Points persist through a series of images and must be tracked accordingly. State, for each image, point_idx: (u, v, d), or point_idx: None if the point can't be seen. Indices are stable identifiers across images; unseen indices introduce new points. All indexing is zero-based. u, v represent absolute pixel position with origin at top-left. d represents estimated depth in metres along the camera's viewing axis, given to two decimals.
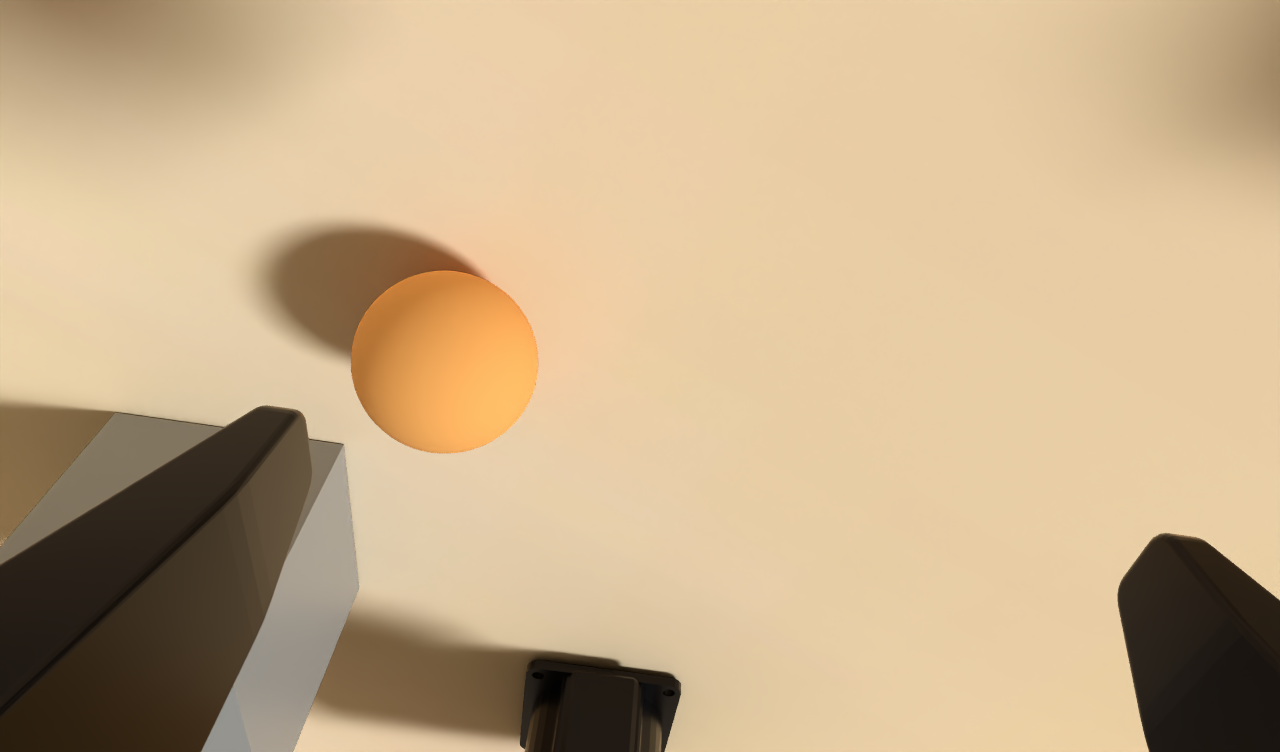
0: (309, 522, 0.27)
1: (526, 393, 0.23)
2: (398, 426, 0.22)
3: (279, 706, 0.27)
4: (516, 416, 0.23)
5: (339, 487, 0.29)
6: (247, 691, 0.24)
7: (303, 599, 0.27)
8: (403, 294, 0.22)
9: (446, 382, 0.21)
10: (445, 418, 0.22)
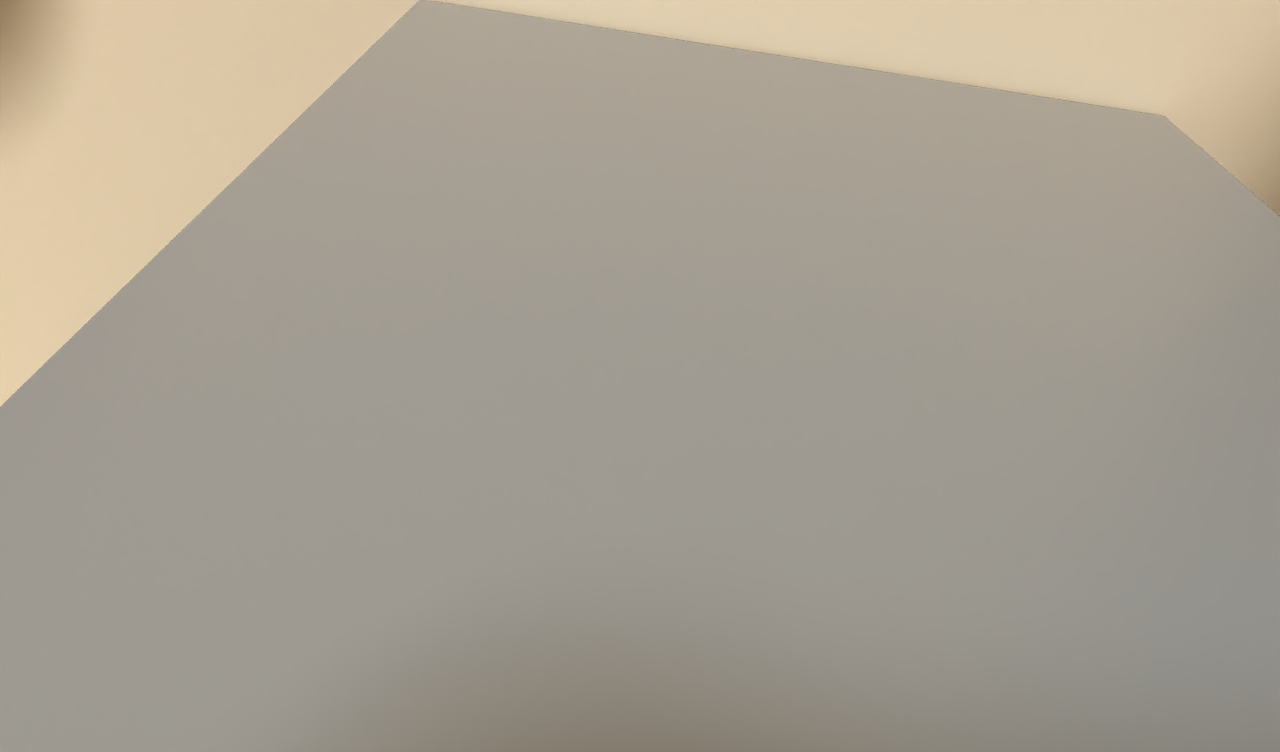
0: (348, 126, 0.06)
1: None
2: None
3: (1154, 666, 0.03)
4: None
5: (539, 42, 0.08)
6: None
7: (658, 256, 0.05)
8: None
9: None
10: None
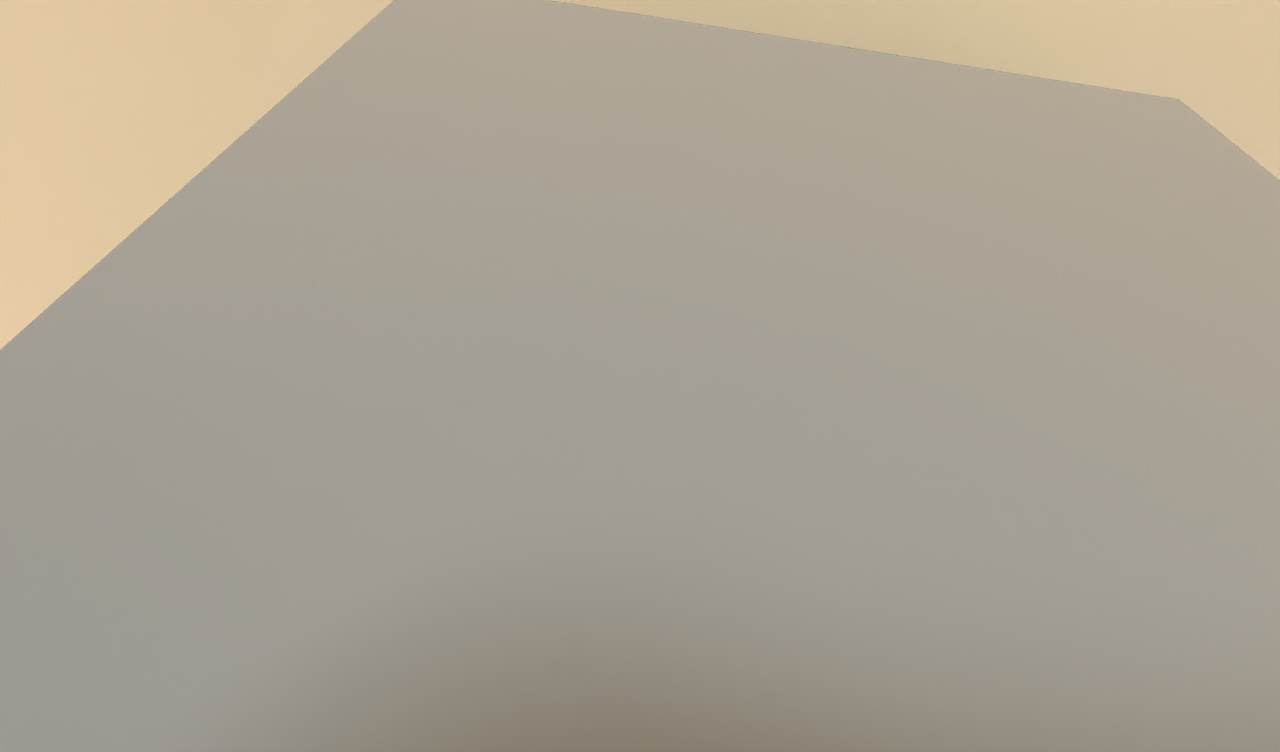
0: (341, 102, 0.06)
1: None
2: None
3: (1197, 656, 0.03)
4: None
5: (539, 21, 0.08)
6: None
7: (662, 232, 0.05)
8: None
9: None
10: None
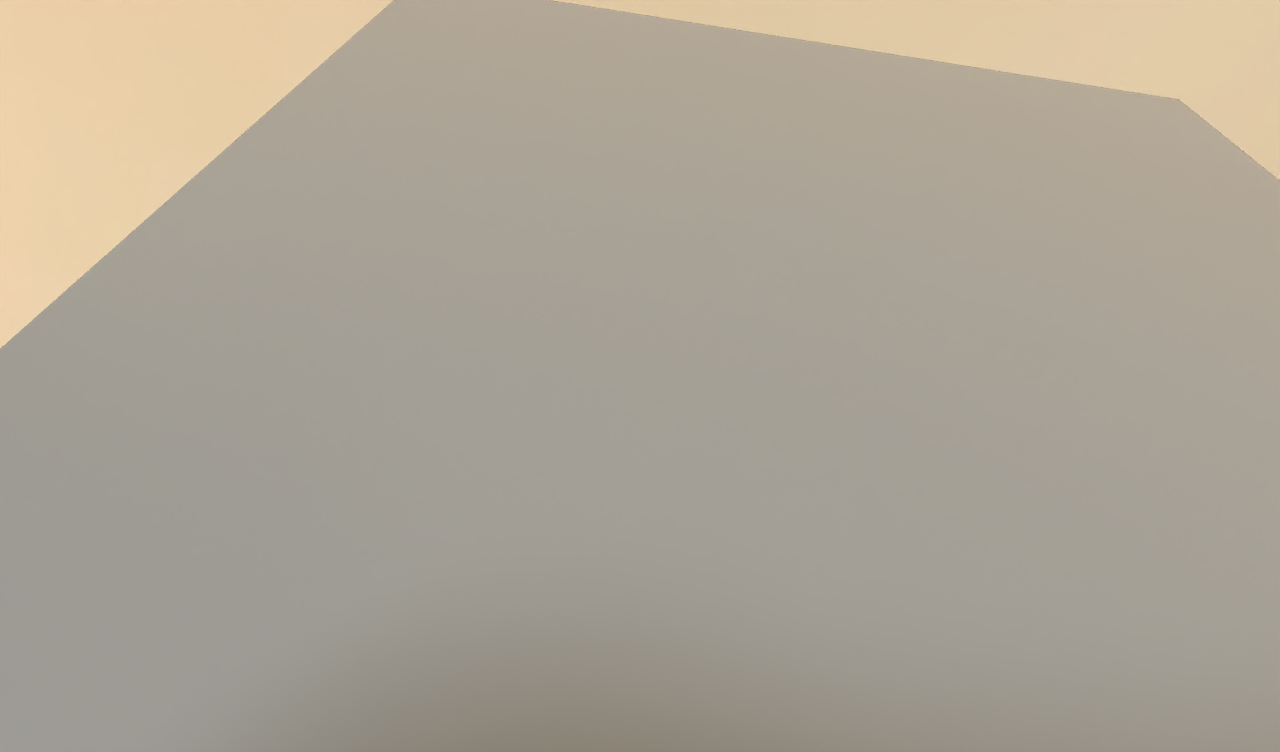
0: (341, 101, 0.06)
1: None
2: None
3: (1197, 655, 0.03)
4: None
5: (539, 20, 0.08)
6: None
7: (662, 232, 0.05)
8: None
9: None
10: None
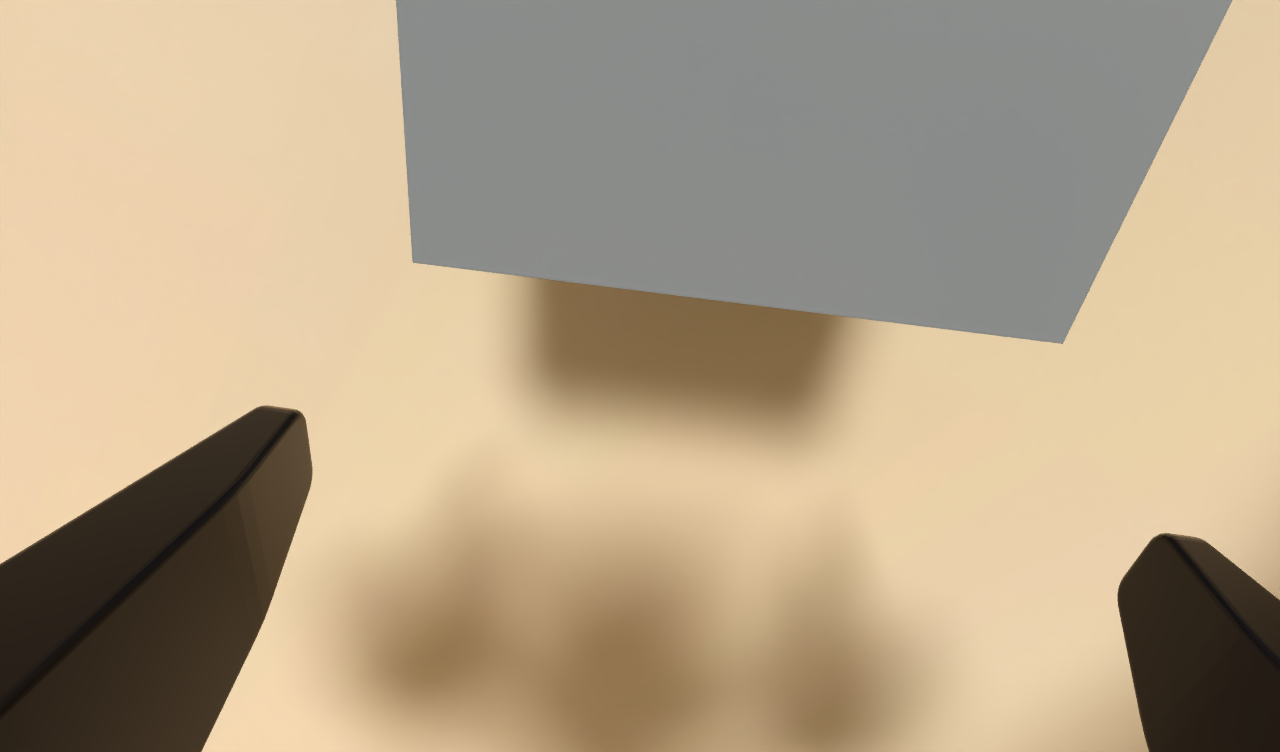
0: None
1: None
2: None
3: None
4: None
5: None
6: None
7: None
8: None
9: None
10: None
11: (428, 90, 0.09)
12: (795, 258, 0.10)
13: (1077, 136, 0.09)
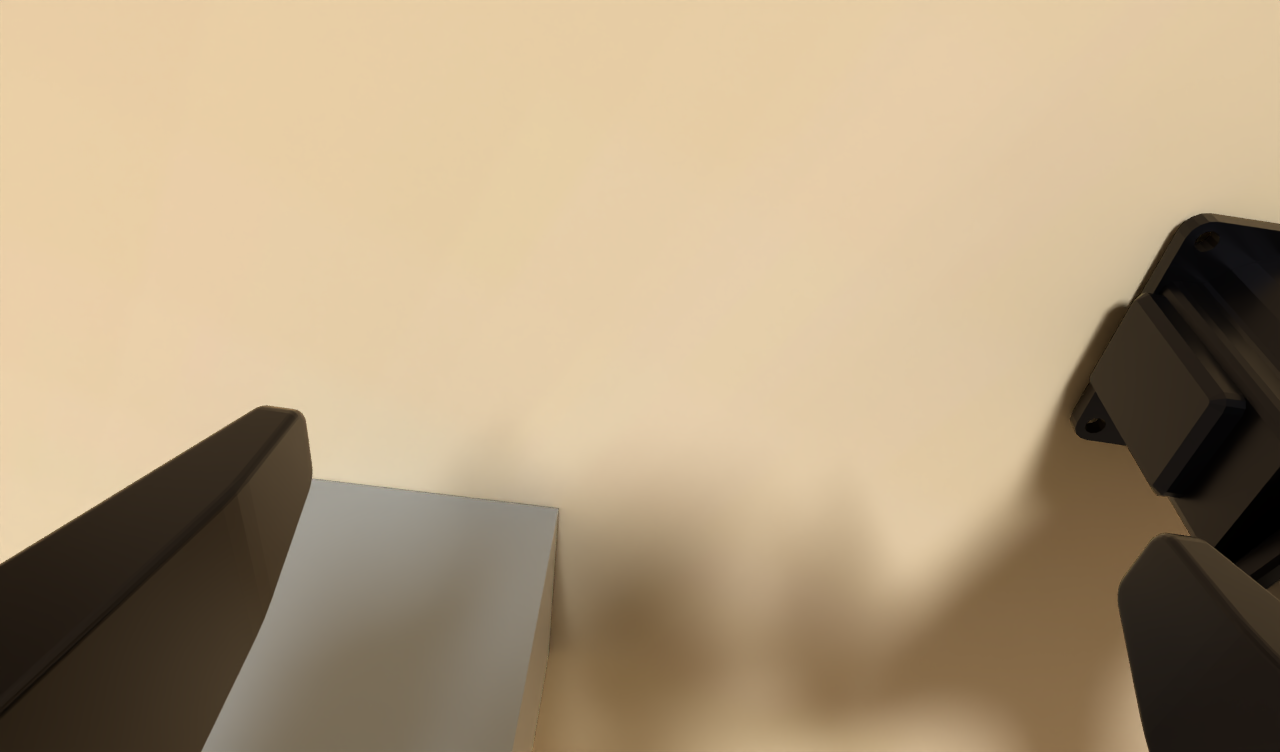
0: None
1: None
2: None
3: (394, 700, 0.21)
4: None
5: (344, 501, 0.26)
6: (252, 737, 0.20)
7: (347, 606, 0.23)
8: None
9: None
10: None
11: None
12: None
13: None
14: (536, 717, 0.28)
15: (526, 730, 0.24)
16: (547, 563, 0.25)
